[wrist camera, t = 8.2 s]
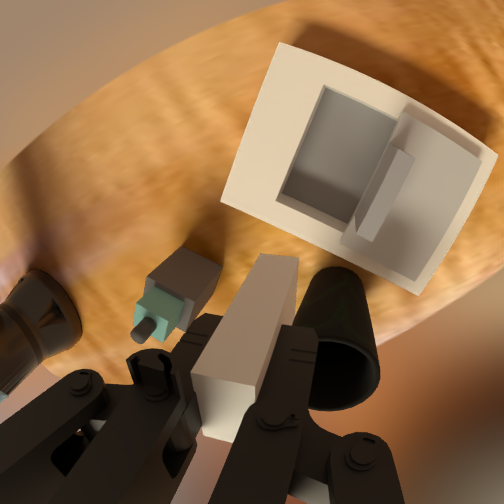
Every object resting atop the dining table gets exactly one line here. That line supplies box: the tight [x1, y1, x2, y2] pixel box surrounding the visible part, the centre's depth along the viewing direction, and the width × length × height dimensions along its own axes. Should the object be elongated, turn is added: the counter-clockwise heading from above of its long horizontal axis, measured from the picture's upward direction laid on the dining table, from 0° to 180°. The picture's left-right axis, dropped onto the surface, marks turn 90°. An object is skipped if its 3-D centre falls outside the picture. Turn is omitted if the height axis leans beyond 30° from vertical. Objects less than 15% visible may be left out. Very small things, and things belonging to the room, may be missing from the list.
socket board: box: [220, 42, 498, 296], centre depth 24 cm, size 19×14×4 cm
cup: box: [292, 267, 380, 411], centre depth 26 cm, size 8×8×12 cm
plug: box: [130, 246, 223, 344], centre depth 29 cm, size 5×4×12 cm
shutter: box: [339, 112, 482, 282], centre depth 20 cm, size 7×11×5 cm, turn 159°
